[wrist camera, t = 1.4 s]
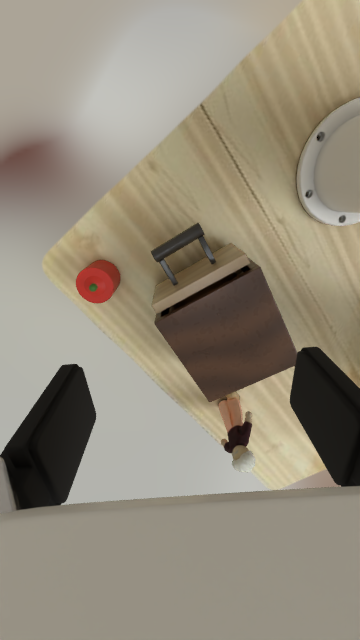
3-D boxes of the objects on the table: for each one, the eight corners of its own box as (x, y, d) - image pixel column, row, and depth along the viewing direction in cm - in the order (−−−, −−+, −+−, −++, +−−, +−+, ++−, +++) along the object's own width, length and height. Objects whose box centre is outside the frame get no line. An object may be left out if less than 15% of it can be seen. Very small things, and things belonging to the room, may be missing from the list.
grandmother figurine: (226, 384, 43) (244, 450, 31) (246, 389, 43) (271, 456, 32) (209, 414, 46) (221, 485, 34) (228, 419, 46) (246, 490, 35)
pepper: (106, 253, 33) (94, 262, 28) (126, 282, 34) (118, 295, 29) (79, 270, 34) (63, 282, 29) (100, 297, 35) (88, 313, 30)
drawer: (136, 255, 32) (126, 269, 25) (214, 207, 30) (226, 209, 23) (198, 351, 38) (203, 382, 32) (266, 318, 36) (286, 344, 30)
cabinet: (159, 295, 35) (154, 323, 27) (239, 250, 33) (260, 266, 25) (202, 362, 41) (209, 402, 32) (274, 328, 38) (301, 362, 30)
